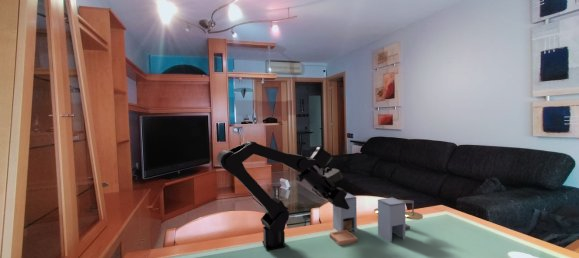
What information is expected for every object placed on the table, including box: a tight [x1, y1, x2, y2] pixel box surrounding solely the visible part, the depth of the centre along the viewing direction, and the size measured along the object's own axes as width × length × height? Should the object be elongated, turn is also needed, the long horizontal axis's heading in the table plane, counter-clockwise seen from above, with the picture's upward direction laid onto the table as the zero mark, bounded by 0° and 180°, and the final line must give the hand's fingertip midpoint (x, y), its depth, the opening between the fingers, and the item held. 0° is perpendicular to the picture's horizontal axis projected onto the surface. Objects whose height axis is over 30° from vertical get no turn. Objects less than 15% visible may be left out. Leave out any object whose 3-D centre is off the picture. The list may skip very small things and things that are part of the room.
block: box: [343, 218, 353, 232], centre depth 105 cm, size 4×4×4 cm
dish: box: [329, 230, 358, 246], centre depth 97 cm, size 7×7×2 cm
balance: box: [373, 199, 424, 231], centre depth 107 cm, size 6×24×13 cm, turn 19°
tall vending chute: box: [332, 192, 358, 232], centre depth 105 cm, size 6×6×13 cm
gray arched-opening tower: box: [377, 197, 406, 243], centre depth 98 cm, size 6×6×13 cm
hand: (342, 204), depth 105 cm, fingers open, 9 cm apart
